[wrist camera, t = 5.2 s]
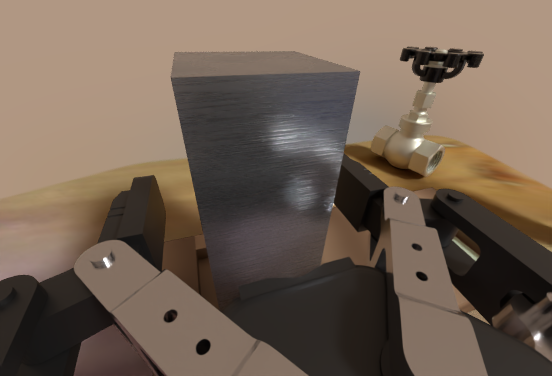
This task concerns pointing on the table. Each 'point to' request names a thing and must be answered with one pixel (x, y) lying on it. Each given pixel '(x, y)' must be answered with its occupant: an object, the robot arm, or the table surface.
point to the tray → (339, 244)
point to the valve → (421, 110)
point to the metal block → (263, 157)
